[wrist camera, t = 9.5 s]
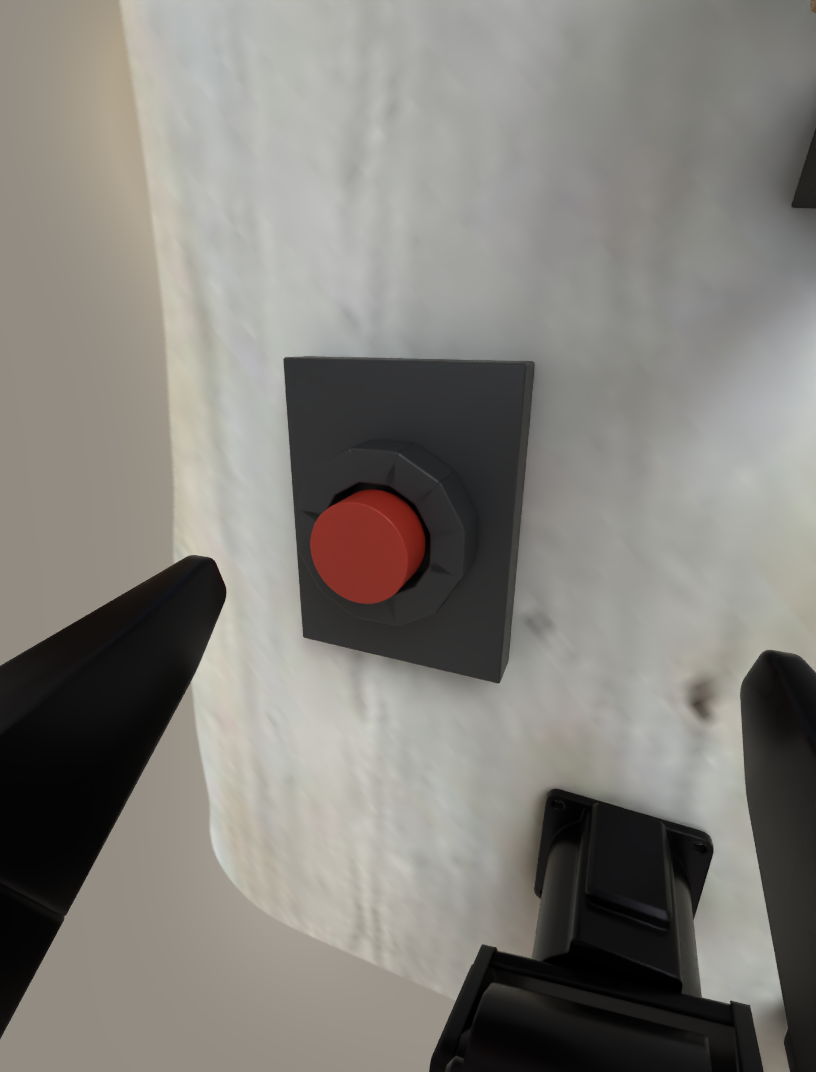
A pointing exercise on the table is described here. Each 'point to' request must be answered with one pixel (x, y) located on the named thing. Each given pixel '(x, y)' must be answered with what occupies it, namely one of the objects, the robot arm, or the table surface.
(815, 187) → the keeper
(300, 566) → the dark grey square plate
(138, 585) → the robot arm
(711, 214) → the table surface
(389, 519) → the button
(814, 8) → the lever
